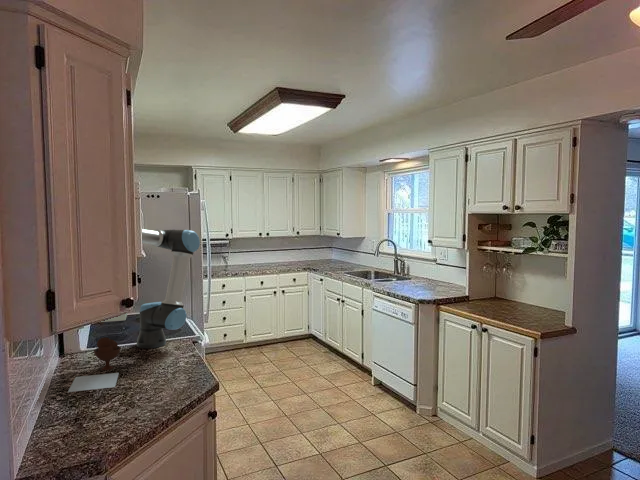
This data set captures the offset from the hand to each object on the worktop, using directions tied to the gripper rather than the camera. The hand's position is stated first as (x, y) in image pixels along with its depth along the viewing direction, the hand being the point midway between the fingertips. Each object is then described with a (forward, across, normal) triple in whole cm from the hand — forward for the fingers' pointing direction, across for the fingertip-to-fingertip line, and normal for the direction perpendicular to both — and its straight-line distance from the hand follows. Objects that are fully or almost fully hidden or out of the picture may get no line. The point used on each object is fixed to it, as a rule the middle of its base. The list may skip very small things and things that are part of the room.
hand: (107, 304), depth 194 cm
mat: (+30, -4, -16) cm, 34 cm away
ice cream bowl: (+30, 0, 0) cm, 30 cm away
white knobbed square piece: (+6, 0, 0) cm, 6 cm away
